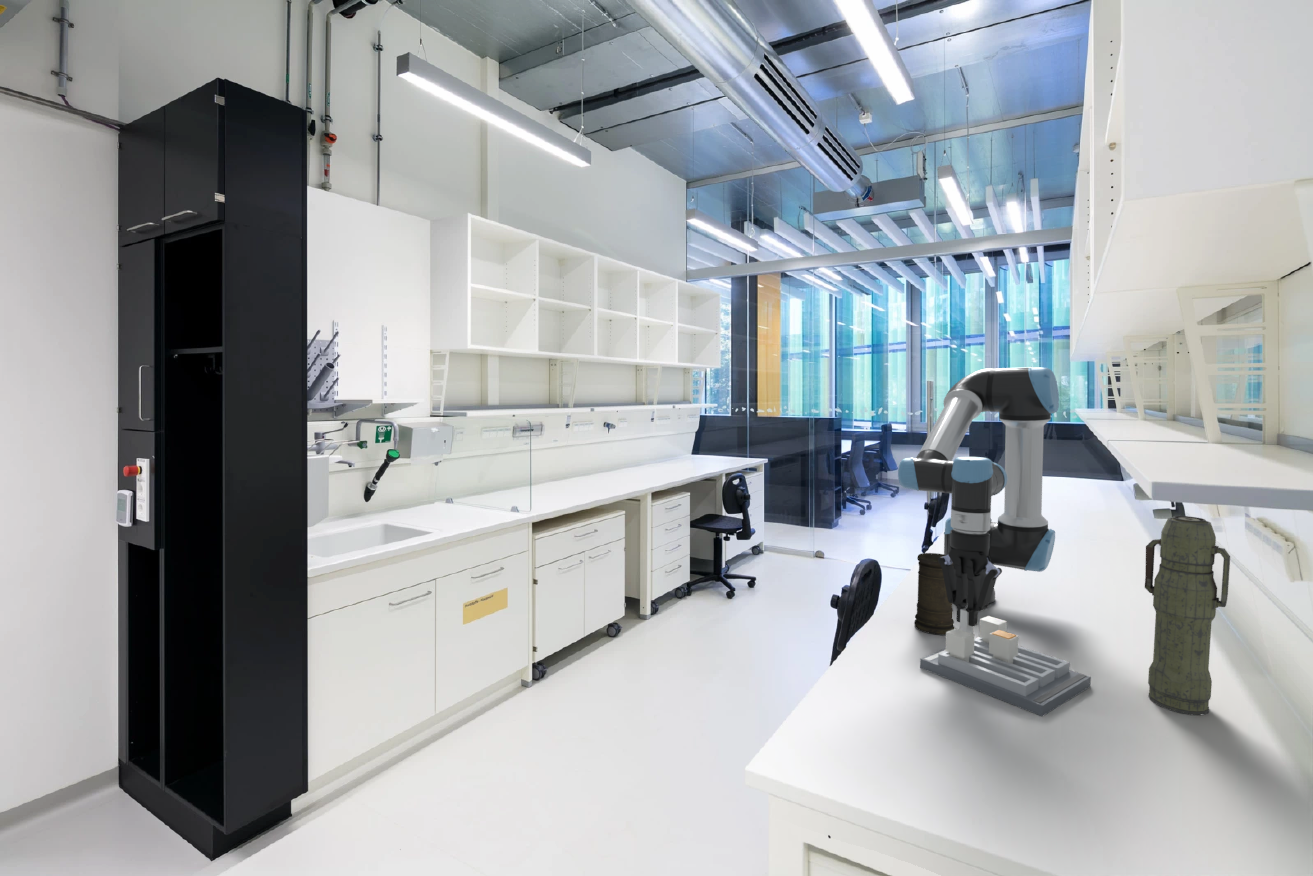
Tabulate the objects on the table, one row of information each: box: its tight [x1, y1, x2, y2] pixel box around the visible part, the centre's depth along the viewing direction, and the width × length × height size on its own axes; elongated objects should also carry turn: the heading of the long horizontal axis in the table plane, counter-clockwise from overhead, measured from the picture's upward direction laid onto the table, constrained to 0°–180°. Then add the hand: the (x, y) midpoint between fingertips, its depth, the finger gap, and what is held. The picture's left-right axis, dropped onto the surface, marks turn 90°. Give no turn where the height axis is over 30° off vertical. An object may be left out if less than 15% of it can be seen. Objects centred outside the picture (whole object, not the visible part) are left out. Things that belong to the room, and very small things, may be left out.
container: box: [913, 552, 956, 636], centre depth 152 cm, size 9×9×18 cm
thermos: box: [1144, 515, 1231, 716], centre depth 115 cm, size 9×12×35 cm
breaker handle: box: [989, 630, 1020, 664], centre depth 126 cm, size 4×4×7 cm
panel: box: [919, 615, 1092, 717], centre depth 126 cm, size 20×24×9 cm
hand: (966, 638), depth 133 cm, fingers closed
